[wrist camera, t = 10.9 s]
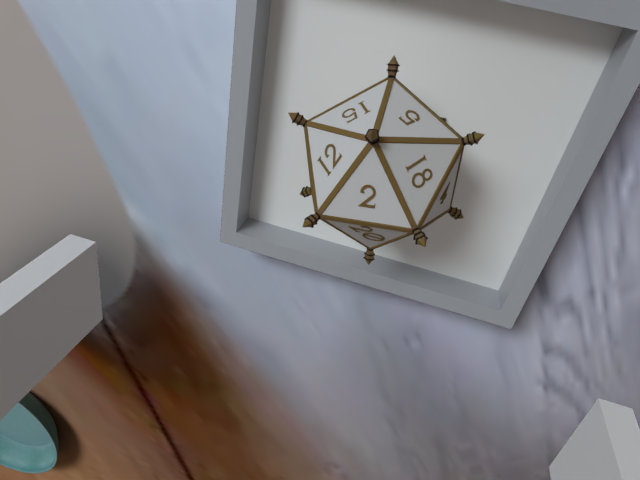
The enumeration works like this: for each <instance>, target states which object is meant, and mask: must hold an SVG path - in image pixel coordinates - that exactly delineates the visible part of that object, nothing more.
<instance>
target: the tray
mask: <svg viewBox="0 0 640 480" xmlns="http://www.w3.org/2000/svg"><path fill="white" fill-rule="evenodd" d="M394 55H395V57H396V60H397V62H398V64H399V65H400V66H398V70H399V72H397V74H396V79H398V80H399V81H400V82H401V83H402V84H403V85H404V86H405V87H407V88H408V89H409V90H410V91H411V92H412V93H413V94H414V95H416V96H417V97H418V98H419V99H420V100H421V101H422V102H423V103H425V104H426V105H427V106H428V107H429V108H430V109H431V110H432V111H434V112H435V113H436V114H437V115H438V116H439V117H442V118H446V123H447V124H448V125H449V126H450V127H452V128H453V129H454V130H455V131H456V132H457V133H458V134H459V135H461V136H462V137H465V136H467V134H472V132H475V131H476V133H481V134H485V135H484V136H483V137H482V138H481V140H480V141H479V142H478V144H473V145H472V146H471V145H465V146H464V150H463V155H462V159H461V164H460V169H459V173H458V178H457V182H456V187H455V192H454V196H453V201H452V205H451V206H452V207H454V208H456V207H457V209H459V210H460V209H461V212H462V215H463V217H464V218H462V219H456V220H455V219H454V218H453V217H451V216H450V215H449V213H446V214H445V215H443V216H442V217H440V218H439V219H437V220H436V221H434V222H433V223H431V224H430V225H428V226H427V227H425V228H424V229H422V230H421V231H422V232H424V233H425V234H426V235H425V236H426V237H428V239H427V242H426V247H424V246H421V245H419V244H417V245H416V244H415V242H416V241H415V240H413V238H414V234H413V235H410V236H408V237H405V238H402V239H400V240H397V241H394V242H392V243H389V244H386V245H384V246H381V247H378V248H376V249H374V250H373V251H374V254H375V256H374V259H375V260H373V261H372V262H371V263H370V264H369V265H368V264H367V262H366V260H365V259H364V258H363V257H364V256H365V254H364V253H365V252H366V250H367V248H366V247H364V246H363V245H361V244H360V243H358V242H356V241H355V240H353V239H351V238H350V237H348V236H346V235H345V234H343V233H342V232H340V231H338V230H337V229H335V228H333V227H332V226H330V225H328V224H327V223H325V222H324V221H322V220H318V222H317V225H316V224H315V225H314V228H311V227H303V224H304V221H305V220H304V219H305V218H306V217H308V216H309V215H311V214H312V215H313V214H315V211H314V205H313V200H312V195H310V196H308V197H305V198H304V196H302V195H300V192H301V191H302V188H303V187H306V186H308V187H310V178H309V169H308V160H307V151H306V142H305V133H304V127H303V126H301V125H298V126H297V124H296V123H292V120H291V118H290V116H289V114H288V113H297V112H299V114H300V115H303V117H304V118H305V119H306V120H309V119H311V118H312V117H314V116H316V115H318V114H320V113H322V112H324V111H325V110H327V109H329V108H331V107H333V106H335V105H337V104H339V103H340V102H342V101H344V100H346V99H348V98H350V97H352V96H353V95H355V94H357V93H359V92H361V91H363V90H365V89H366V88H368V87H370V86H372V85H374V84H376V83H378V82H379V81H381V80H383V79H385V78H387V77H388V71H387V69H388V65H387V64H388V63H389V62H390V60H391V59H392V58H393V56H394ZM639 83H640V0H237V2H236V16H235V30H234V45H233V59H232V74H231V88H230V103H229V117H228V131H227V146H226V160H225V175H224V189H223V204H222V218H221V233H220V242H223V243H226V244H229V245H233V246H236V247H239V248H243V249H246V250H249V251H253V252H256V253H259V254H263V255H266V256H269V257H273V258H276V259H279V260H283V261H286V262H289V263H293V264H296V265H299V266H303V267H306V268H309V269H313V270H316V271H319V272H322V273H326V274H329V275H332V276H336V277H339V278H342V279H346V280H349V281H352V282H356V283H359V284H362V285H366V286H369V287H372V288H376V289H379V290H382V291H386V292H389V293H392V294H396V295H399V296H402V297H406V298H409V299H412V300H416V301H419V302H422V303H426V304H429V305H432V306H436V307H439V308H442V309H446V310H449V311H452V312H455V313H459V314H462V315H465V316H469V317H472V318H475V319H479V320H482V321H485V322H489V323H492V324H495V325H499V326H502V327H505V328H509V329H511V328H512V327H513V325H514V323H515V321H516V319H517V317H518V315H519V313H520V311H521V309H522V307H523V305H524V304H525V302H526V300H527V298H528V296H529V294H530V292H531V290H532V288H533V286H534V284H535V283H536V281H537V279H538V277H539V275H540V273H541V271H542V269H543V267H544V265H545V263H546V261H547V260H548V258H549V256H550V254H551V252H552V250H553V248H554V246H555V244H556V242H557V240H558V239H559V237H560V235H561V233H562V231H563V229H564V227H565V225H566V223H567V221H568V219H569V217H570V216H571V214H572V212H573V210H574V208H575V206H576V204H577V202H578V200H579V198H580V196H581V194H582V193H583V191H584V189H585V187H586V185H587V183H588V181H589V179H590V177H591V175H592V173H593V172H594V170H595V168H596V166H597V164H598V162H599V160H600V158H601V156H602V154H603V152H604V150H605V149H606V147H607V145H608V143H609V141H610V139H611V137H612V135H613V133H614V131H615V129H616V128H617V126H618V124H619V122H620V120H621V118H622V116H623V114H624V112H625V110H626V108H627V106H628V105H629V103H630V101H631V99H632V97H633V95H634V93H635V91H636V89H637V87H638V85H639Z"/></svg>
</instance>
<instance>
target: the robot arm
mask: <svg viewBox="0 0 640 480" xmlns="http://www.w3.org/2000/svg"><path fill="white" fill-rule="evenodd" d="M101 320H102V307H101V296H100V284H99V273H98V262H97V250H96V242H94V241H90V240H87V239H84V238H80V237H78V236H74V235H71V234H70V235H69V236H67V237H66V238H64V239H63V240H61V241H60V242H59V243H57V244H56V245H54V246H53V247H52V248H50V249H49V250H47V251H46V252H44V253H43V254H42V255H41V256H39V257H37V258H36V259H34V260H33V261H32V262H30V263H29V264H27V265H26V266H25V267H23V268H22V269H20V270H19V271H17V272H16V273H14V274H13V275H12V276H10V277H9V278H7V279H6V280H5V281H3V282H2V283H0V420H1V419H2V418H3V417H4V416H5V415H6V414H7V413H8V412H9V411H10V410H11V409H12V408H13V407H14V406H15V405H16V404H17V403H18V402H19V401H20V400H21V399H22V398H23V397H24V396H25V395H26V394H27V393H28V392H29V391H30V390H31V389H32V388H33V387H34V386H35V385H36V384H37V383H38V382H39V381H40V380H41V379H42V378H43V377H45V376H46V375H47V374H48V373H49V372H50V371H51V370H52V369H53V368H54V367H55V366H56V365H57V364H58V363H59V362H60V361H61V360H62V359H63V358H64V357H65V356H66V355H67V354H68V353H69V352H70V351H71V350H72V349H73V348H74V347H75V346H76V345H77V344H78V343H79V342H80V341H81V340H82V339H83V338H84V337H85V336H86V335H87V334H88V333H89V332H90V331H91V330H92V329H93V328H94V327H95V326H96V325H97V324H98V323H99V322H100V321H101ZM549 470H550V477H551V480H640V429H639V426H638V423H637V421H636V418H635V415H634V412H633V410H632V408H628V407H625V406H622V405H619V404H615V403H612V402H609V401H606V400H603V399H599V398H598V399H597V401H596V402H595V404H594V405H593V406H592V408H591V409H590V411H589V412H588V413H587V415H586V416H585V417H584V419H583V420H582V422H581V423H580V424H579V426H578V427H577V429H576V430H575V431H574V433H573V434H572V436H571V437H570V438H569V440H568V441H567V443H566V444H565V445H564V447H563V448H562V450H561V451H560V452H559V454H558V455H557V457H556V458H555V459H554V461H553V462H552V463H551V465H550V466H549Z"/></svg>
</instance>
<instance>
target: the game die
mask: <svg viewBox="0 0 640 480" xmlns="http://www.w3.org/2000/svg"><path fill="white" fill-rule="evenodd" d="M387 65H388V69H387V71H388V77H387V78H385V79H383V80H381V81H379V82H378V83H376V84H374V85H372V86H370V87H368V88H366V89H365V90H363V91H361V92H359V93H357V94H355V95H353V96H352V97H350V98H348V99H346V100H344V101H342V102H340V103H339V104H337V105H335V106H333V107H331V108H329V109H327V110H325V111H324V112H322V113H320V114H318V115H316V116H314V117H312V118H311V119H309V120H306V119H305V118H304V117H303V115H300V114H299V112H297V113H288V114H289V116H290V118H291V120H292V123H296V124H297V126H298V125H301V126H303V127H304V133H305V142H306V151H307V160H308V169H309V178H310V187H308V186H306V187H303V188H302V191H301V192H300V195H302V196H304V198H305V197H308V196H310V195H312V200H313V205H314V211H315V214H313V215H312V214H311V215H309V216H308V217H306V218H305V219H304V220H305V221H304V224H303V227H311V228H314V225H315V224H316V225H317V222H318V220H322V221H324V222H325V223H327V224H328V225H330V226H332V227H333V228H335V229H337V230H338V231H340V232H342V233H343V234H345V235H346V236H348V237H350V238H351V239H353V240H355V241H356V242H358V243H360V244H361V245H363V246H364V247H366V248H367V250H366V252H365V253H364V254H365V256H364V257H363V258H364V259H365V260H366V262H367V264H368V265H369V264H370V263H371V262H372V261H373V260H375V259H374V256H375V254H374V251H373V250H374V249H376V248H378V247H381V246H384V245H386V244H389V243H392V242H394V241H397V240H400V239H402V238H405V237H408V236H410V235H413V234H414V238H413V240H415V241H416V242H415V244H416V245H417V244H419V245H421V246H424V247H426V242H427V239H428V237H426V236H425V235H426V234H425V233H424V232H422V231H421V230H422V229H424V228H425V227H427V226H428V225H430V224H431V223H433V222H434V221H436V220H437V219H439V218H440V217H442V216H443V215H445V214H446V213H449V215H450V216H451V217H453V218H454V219H455V220H456V219H462V218H464V217H463V215H462V212H461V209H460V210H459V209H457V207H456V208H454V207H452V206H451V205H452V201H453V196H454V192H455V187H456V182H457V178H458V173H459V169H460V164H461V159H462V155H463V150H464V146H465V145H471V146H472V145H473V144H478V142H479V141H480V140H481V138H482V137H483V136H484V135H485V134H481V133H476V131H475V132H472V134H467V136H465V137H462V136H461V135H459V134H458V133H457V132H456V131H455V130H454V129H453V128H452V127H450V126H449V125H448V124H447V123H446V118H442V117H439V116H438V115H437V114H436V113H435V112H434V111H432V110H431V109H430V108H429V107H428V106H427V105H426V104H425V103H423V102H422V101H421V100H420V99H419V98H418V97H417V96H416V95H414V94H413V93H412V92H411V91H410V90H409V89H408V88H407V87H405V86H404V85H403V84H402V83H401V82H400V81H399V80H398V79H396V74H397V72H399V70H398V66H400V65H399V64H398V62H397V60H396V57H395V55H394V56H393V58H392V59H391V60H390V62H389V63H388V64H387Z"/></svg>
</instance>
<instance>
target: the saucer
mask: <svg viewBox="0 0 640 480" xmlns="http://www.w3.org/2000/svg"><path fill="white" fill-rule="evenodd" d="M58 450H59V443H58V434H57V429H56V425H55V422H54V420H53V418H52V416H51V414H50V413H49V412H48V410H47V409H46V408H45V406H44V405H43V404H42V403H41V402H40V401H39V400H38V399H37V398H36V397H35V396H33V395H32V394H31V393H30V392H28V393H27V394H26V395H25V396H24V397H23V398H22V399H21V400H20V401H19V402H18V403H17V404H16V405H15V406H14V407H13V408H12V409H11V410H10V411H9V412H8V413H7V414H6V415H5V416H4V417H3V418H2V419H1V420H0V465H3V466H5V467H8V468H10V469H13V470H16V471H21V472H25V473H43V472H47V471H49V470H51V469H52V468H53V467H54V466H55V464H56V462H57V457H58Z"/></svg>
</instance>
